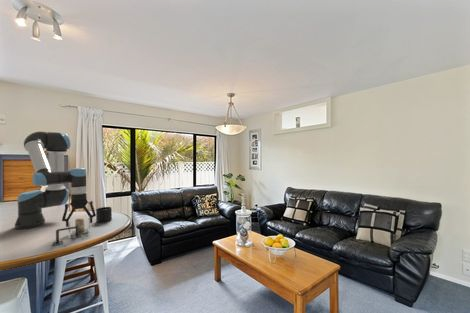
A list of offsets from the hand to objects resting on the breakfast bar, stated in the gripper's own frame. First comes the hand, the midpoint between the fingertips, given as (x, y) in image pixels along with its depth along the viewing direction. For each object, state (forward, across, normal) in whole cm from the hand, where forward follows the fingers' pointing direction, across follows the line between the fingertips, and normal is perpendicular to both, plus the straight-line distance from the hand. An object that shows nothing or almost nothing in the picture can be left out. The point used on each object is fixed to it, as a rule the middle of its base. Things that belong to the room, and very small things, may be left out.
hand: (79, 230), depth 129 cm
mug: (+2, +13, +18) cm, 22 cm away
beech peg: (+1, 0, 0) cm, 1 cm away
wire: (+2, -5, -10) cm, 11 cm away
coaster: (+2, 0, 0) cm, 2 cm away
